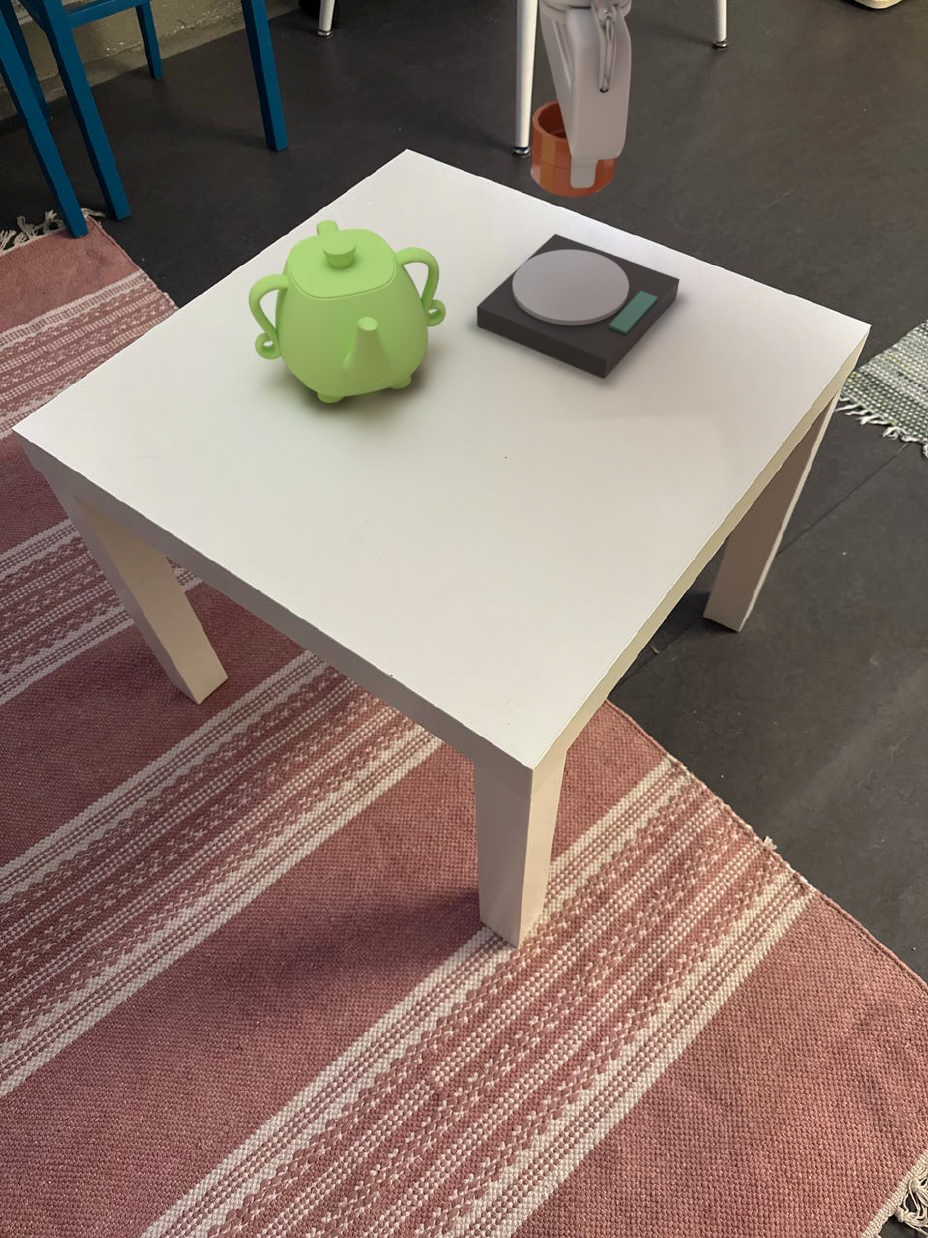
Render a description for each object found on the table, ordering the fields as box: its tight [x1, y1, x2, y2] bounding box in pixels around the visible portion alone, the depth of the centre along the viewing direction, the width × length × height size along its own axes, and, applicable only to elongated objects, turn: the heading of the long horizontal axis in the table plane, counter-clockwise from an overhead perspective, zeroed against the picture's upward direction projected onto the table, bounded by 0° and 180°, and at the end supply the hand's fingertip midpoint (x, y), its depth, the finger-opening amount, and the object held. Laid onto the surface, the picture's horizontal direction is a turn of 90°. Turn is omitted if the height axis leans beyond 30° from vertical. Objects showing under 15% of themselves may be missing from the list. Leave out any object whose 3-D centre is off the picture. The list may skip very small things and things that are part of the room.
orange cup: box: [529, 99, 618, 198], centre depth 72 cm, size 7×7×5 cm
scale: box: [476, 233, 680, 380], centre depth 88 cm, size 14×14×3 cm
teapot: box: [248, 219, 447, 404], centre depth 80 cm, size 16×14×13 cm
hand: (574, 154), depth 73 cm, fingers closed on orange cup, 7 cm apart
